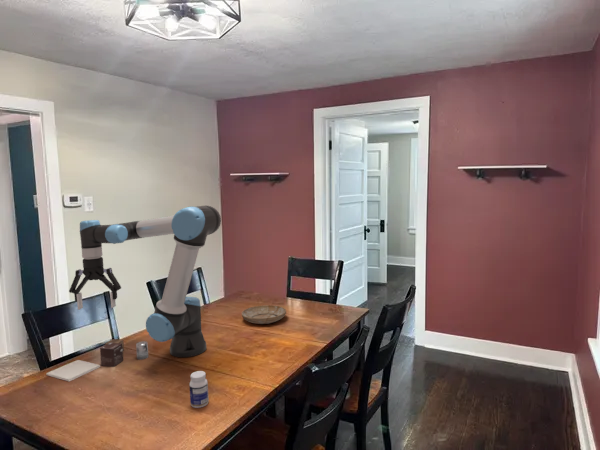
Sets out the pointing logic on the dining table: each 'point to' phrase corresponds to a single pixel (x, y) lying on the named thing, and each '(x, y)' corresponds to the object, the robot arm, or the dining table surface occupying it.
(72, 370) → the plate
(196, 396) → the pill bottle
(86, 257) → the robot arm
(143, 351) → the grey tin
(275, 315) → the ceramic bowl
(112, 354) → the box
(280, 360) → the dining table surface
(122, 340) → the walnut cube
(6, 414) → the dining table surface
